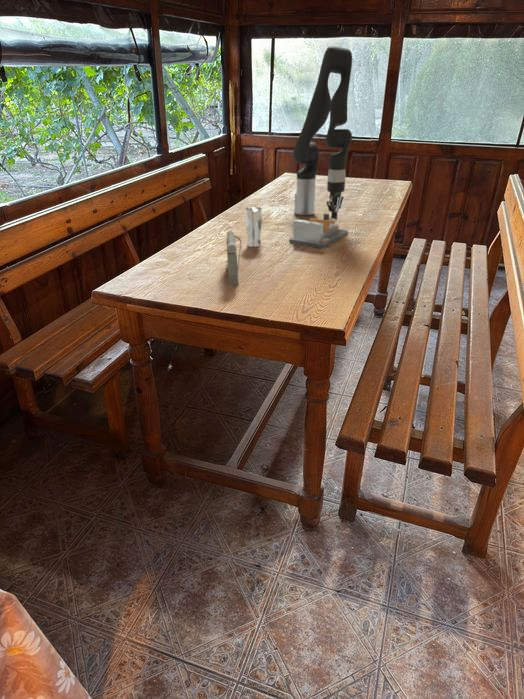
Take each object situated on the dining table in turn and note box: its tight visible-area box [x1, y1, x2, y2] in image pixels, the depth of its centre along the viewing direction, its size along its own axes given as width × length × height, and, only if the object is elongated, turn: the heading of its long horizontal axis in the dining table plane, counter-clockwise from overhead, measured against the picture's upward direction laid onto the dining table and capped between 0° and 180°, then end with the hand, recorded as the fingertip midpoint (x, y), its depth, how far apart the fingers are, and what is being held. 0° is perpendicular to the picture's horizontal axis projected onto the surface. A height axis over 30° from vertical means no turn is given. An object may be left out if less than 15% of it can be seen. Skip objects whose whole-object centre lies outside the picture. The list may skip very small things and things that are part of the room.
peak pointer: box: [309, 217, 336, 233], centre depth 212 cm, size 12×1×5 cm, turn 58°
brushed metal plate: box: [292, 219, 323, 244], centre depth 202 cm, size 12×3×8 cm, turn 58°
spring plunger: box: [318, 213, 336, 230], centre depth 214 cm, size 6×6×7 cm
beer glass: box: [244, 206, 263, 248], centre depth 202 cm, size 7×7×15 cm
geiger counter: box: [223, 230, 242, 286], centre depth 171 cm, size 14×6×25 cm
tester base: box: [288, 225, 349, 249], centre depth 212 cm, size 16×24×4 cm, turn 148°
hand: (334, 220), depth 220 cm, fingers closed
